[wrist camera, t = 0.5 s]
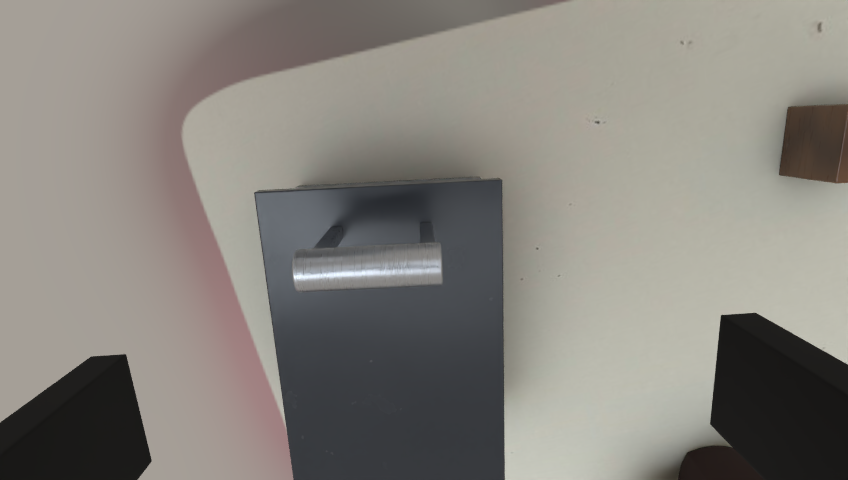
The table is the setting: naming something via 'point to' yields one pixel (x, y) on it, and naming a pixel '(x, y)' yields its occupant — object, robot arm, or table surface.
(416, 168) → the table surface
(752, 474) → the mug
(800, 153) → the block
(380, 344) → the box lid
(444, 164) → the table surface
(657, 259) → the table surface
